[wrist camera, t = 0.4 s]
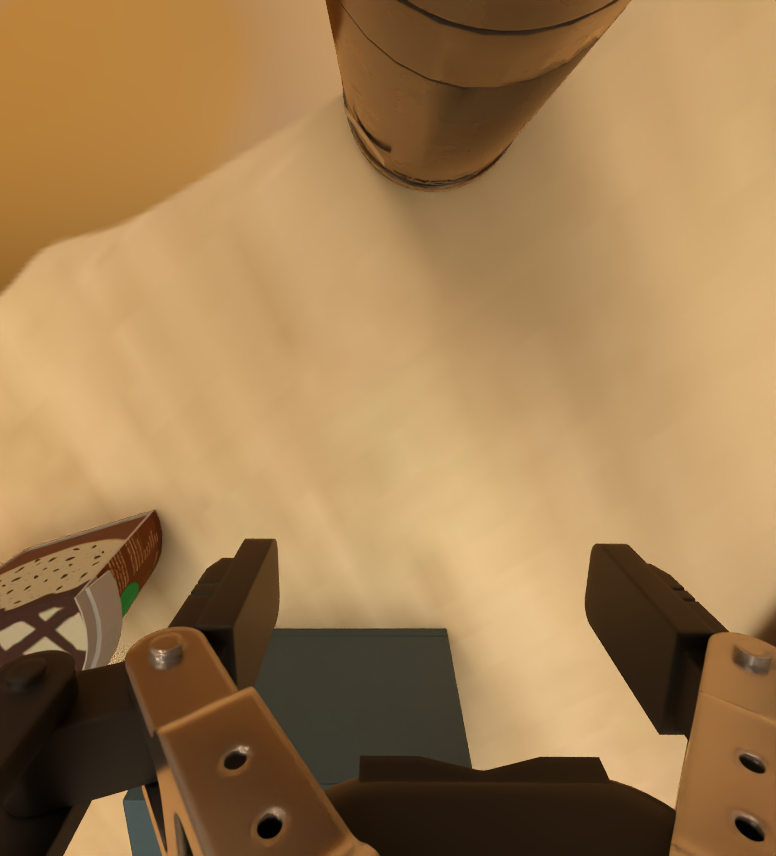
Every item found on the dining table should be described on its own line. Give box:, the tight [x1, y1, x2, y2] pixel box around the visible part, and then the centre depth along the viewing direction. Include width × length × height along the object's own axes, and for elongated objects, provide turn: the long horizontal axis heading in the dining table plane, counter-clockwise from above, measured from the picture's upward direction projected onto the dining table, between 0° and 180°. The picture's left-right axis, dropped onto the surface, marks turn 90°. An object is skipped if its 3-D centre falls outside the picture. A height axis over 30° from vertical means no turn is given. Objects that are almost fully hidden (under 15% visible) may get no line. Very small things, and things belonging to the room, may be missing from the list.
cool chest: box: [254, 629, 472, 784], centre depth 31 cm, size 16×15×11 cm
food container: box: [0, 510, 162, 672], centre depth 29 cm, size 12×6×10 cm, turn 108°
